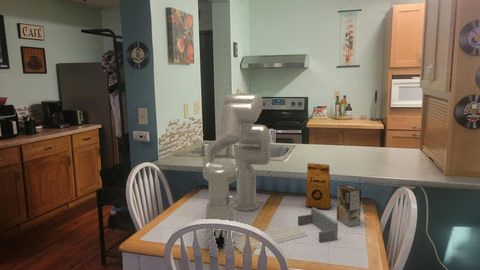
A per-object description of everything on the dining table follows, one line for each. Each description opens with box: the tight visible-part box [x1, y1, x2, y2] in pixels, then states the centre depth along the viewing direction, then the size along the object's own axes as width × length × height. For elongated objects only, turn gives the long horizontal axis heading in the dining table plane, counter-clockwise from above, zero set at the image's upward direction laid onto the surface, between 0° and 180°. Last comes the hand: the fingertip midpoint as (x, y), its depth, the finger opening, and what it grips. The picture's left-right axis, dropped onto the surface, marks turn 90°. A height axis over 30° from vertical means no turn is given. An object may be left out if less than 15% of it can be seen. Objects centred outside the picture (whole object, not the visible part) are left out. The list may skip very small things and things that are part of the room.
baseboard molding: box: [232, 224, 308, 255], centre depth 146 cm, size 31×3×12 cm
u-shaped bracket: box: [297, 207, 339, 243], centre depth 152 cm, size 18×8×7 cm, turn 19°
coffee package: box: [305, 162, 332, 210], centre depth 180 cm, size 10×12×22 cm
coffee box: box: [336, 184, 362, 228], centre depth 161 cm, size 9×6×16 cm
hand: (220, 246), depth 139 cm, fingers closed
